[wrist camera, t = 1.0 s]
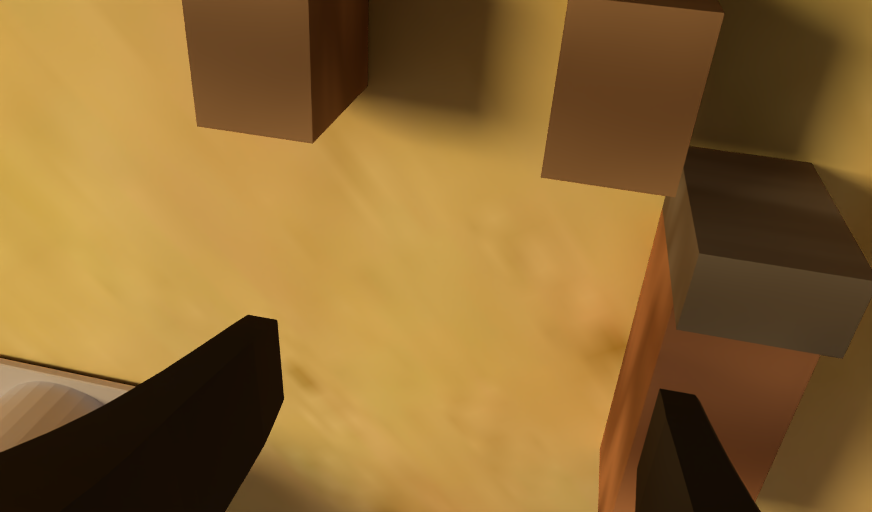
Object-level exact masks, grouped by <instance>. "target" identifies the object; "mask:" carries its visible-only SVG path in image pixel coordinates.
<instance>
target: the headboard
mask: <svg viewBox="0 0 872 512" xmlns="http://www.w3.org/2000/svg"><path fill="white" fill-rule="evenodd" d="M182 5H183V13H184V21H185V30H186V38H187V46H188V54H189V63H190V71H191V79H192V88H193V96H194V104H195V112H196V121H197V126H199V127H205V128H212V129H219V130H226V131H232V132H239V133H246V134H252V135H259V136H266V137H273V138H279V139H286V140H293V141H299V142H306V143H314V142H315V141H316V139H317V138H318V137H319V136H320V135H321V134H322V133H323V132H324V131H325V130H326V129H327V128H328V127H329V126H330V125H331V124H332V123H333V122H334V121H335V120H336V119H337V117H338V116H339V115H340V114H341V113H342V112H343V111H344V110H345V109H346V108H347V107H348V106H349V105H350V104H351V103H352V102H353V101H354V100H355V99H356V98H357V97H358V95H359V94H360V93H361V92H362V91H363V90H364V89H365V88H366V87H367V86H368V17H369V0H182ZM724 14H725V13H724V11H723V9H722V7H721V6H720V4H719V2H718V0H568V4H567V11H566V17H565V24H564V30H563V37H562V43H561V50H560V56H559V63H558V69H557V76H556V82H555V89H554V95H553V102H552V108H551V115H550V121H549V128H548V134H547V141H546V147H545V154H544V160H543V167H542V173H541V178H548V179H555V180H561V181H568V182H575V183H581V184H588V185H595V186H602V187H608V188H615V189H622V190H628V191H635V192H642V193H649V194H655V195H662V196H669V197H676V193H677V189H678V185H679V182H680V178H681V174H682V170H683V167H684V163H685V159H686V156H687V152H688V148H689V144H690V141H691V137H692V133H693V129H694V126H695V122H696V118H697V114H698V111H699V107H700V103H701V99H702V96H703V92H704V88H705V85H706V81H707V77H708V73H709V70H710V66H711V62H712V58H713V55H714V51H715V47H716V43H717V40H718V36H719V32H720V28H721V25H722V21H723V17H724Z"/></svg>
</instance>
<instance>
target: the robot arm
mask: <svg viewBox="0 0 872 512" xmlns="http://www.w3.org/2000/svg"><path fill="white" fill-rule="evenodd" d="M283 401H284V393H283V381H282V370H281V358H280V346H279V335H278V323H277V320H274V319H269V318H263V317H257V316H252V315H247V316H245V317H244V318H242V319H240V320H239V321H237V322H236V323H234V324H233V325H231V326H230V327H228V328H227V329H225V330H224V331H222V332H221V333H219V334H218V335H216V336H215V337H213V338H212V339H210V340H209V341H207V342H206V343H204V344H203V345H201V346H200V347H198V348H197V349H195V350H194V351H192V352H191V353H189V354H188V355H186V356H185V357H183V358H181V359H180V360H178V361H177V362H175V363H174V364H172V365H171V366H169V367H168V368H166V369H165V370H163V371H161V372H160V373H158V374H156V375H155V376H153V377H151V378H150V379H148V380H146V381H145V382H143V383H141V384H139V385H138V386H131V385H126V384H122V383H117V382H112V381H107V380H103V379H98V378H93V377H88V376H84V375H79V374H74V373H69V372H65V371H60V370H55V369H50V368H46V367H41V366H36V365H31V364H27V363H22V362H17V361H12V360H8V359H3V358H0V512H225V511H226V509H227V507H228V506H229V504H230V502H231V501H232V499H233V497H234V496H235V494H236V492H237V491H238V489H239V487H240V486H241V484H242V482H243V481H244V479H245V477H246V476H247V474H248V472H249V471H250V469H251V467H252V465H253V464H254V462H255V460H256V459H257V457H258V455H259V454H260V452H261V450H262V448H263V447H264V445H265V443H266V440H267V438H268V436H269V434H270V431H271V429H272V427H273V425H274V422H275V420H276V418H277V415H278V413H279V410H280V408H281V405H282V403H283ZM635 512H761V511H760V510H759V508H758V507H757V505H756V503H755V502H754V500H753V499H752V497H751V495H750V493H749V492H748V490H747V488H746V487H745V485H744V483H743V482H742V480H741V478H740V477H739V475H738V473H737V472H736V470H735V468H734V466H733V464H732V463H731V461H730V459H729V457H728V456H727V454H726V452H725V450H724V448H723V446H722V444H721V442H720V440H719V439H718V437H717V435H716V433H715V431H714V429H713V427H712V425H711V423H710V421H709V419H708V417H707V415H706V413H705V411H704V408H703V406H702V404H701V402H700V400H699V399H698V398H697V396H696V395H694V394H689V393H683V392H677V391H672V390H666V389H661V388H660V389H659V392H658V396H657V399H656V403H655V406H654V410H653V414H652V417H651V421H650V424H649V428H648V431H647V435H646V438H645V442H644V445H643V449H642V452H641V456H640V460H639V463H638V467H637V478H636V502H635Z"/></svg>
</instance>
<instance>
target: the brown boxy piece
mask: <svg viewBox="0 0 872 512" xmlns="http://www.w3.org/2000/svg"><path fill="white" fill-rule="evenodd" d="M871 297H872V269H871V267H870V266H869V264H868V262H867V260H866V259H865V257H864V255H863V253H862V251H861V250H860V248H859V246H858V244H857V243H856V241H855V239H854V237H853V236H852V234H851V232H850V230H849V229H848V227H847V225H846V223H845V221H844V220H843V218H842V216H841V214H840V213H839V211H838V209H837V207H836V206H835V204H834V202H833V200H832V198H831V197H830V195H829V193H828V191H827V190H826V188H825V186H824V184H823V183H822V181H821V179H820V177H819V175H818V174H817V172H816V170H815V168H814V167H813V165H812V163H808V162H800V161H793V160H786V159H779V158H771V157H764V156H757V155H749V154H742V153H735V152H728V151H720V150H713V149H706V148H699V147H691V146H689V148H688V152H687V156H686V159H685V163H684V167H683V170H682V174H681V178H680V182H679V185H678V189H677V193H676V197H669V196H665V200H664V204H663V208H662V212H661V216H660V220H659V223H658V227H657V231H656V235H655V239H654V243H653V247H652V250H651V254H650V258H649V262H648V266H647V270H646V274H645V277H644V281H643V285H642V289H641V293H640V297H639V301H638V304H637V308H636V312H635V316H634V320H633V324H632V327H631V331H630V335H629V339H628V343H627V347H626V351H625V354H624V358H623V362H622V366H621V370H620V374H619V378H618V381H617V385H616V389H615V393H614V397H613V401H612V405H611V408H610V412H609V416H608V420H607V424H606V428H605V432H604V435H603V439H602V443H601V447H600V466H599V501H598V512H635V502H636V478H637V467H638V463H639V460H640V456H641V452H642V449H643V445H644V442H645V438H646V435H647V431H648V428H649V424H650V421H651V417H652V414H653V410H654V406H655V403H656V399H657V396H658V392H659V389H660V388H661V389H666V390H672V391H677V392H683V393H689V394H694V395H696V396H697V398H698V399H699V400H700V402H701V404H702V406H703V408H704V411H705V413H706V415H707V417H708V419H709V421H710V423H711V425H712V427H713V429H714V431H715V433H716V435H717V437H718V439H719V440H720V442H721V444H722V446H723V448H724V450H725V452H726V454H727V456H728V457H729V459H730V461H731V463H732V464H733V466H734V468H735V470H736V472H737V473H738V475H739V477H740V478H741V480H742V482H743V483H744V485H745V487H746V488H747V490H748V492H749V493H750V495H751V497H752V499H753V500H754V502H755V501H756V499H757V496H758V494H759V492H760V490H761V487H762V485H763V483H764V481H765V478H766V476H767V474H768V472H769V469H770V467H771V465H772V463H773V460H774V458H775V456H776V454H777V452H778V449H779V447H780V445H781V443H782V440H783V438H784V436H785V434H786V431H787V429H788V427H789V425H790V422H791V420H792V418H793V416H794V413H795V411H796V409H797V407H798V404H799V402H800V400H801V398H802V395H803V393H804V391H805V389H806V387H807V384H808V382H809V380H810V378H811V375H812V373H813V371H814V369H815V366H816V364H817V362H818V360H819V357H820V355H824V356H830V357H836V358H842V359H843V357H844V355H845V353H846V351H847V348H848V346H849V344H850V342H851V340H852V338H853V336H854V334H855V331H856V329H857V327H858V325H859V323H860V321H861V319H862V317H863V314H864V312H865V310H866V308H867V306H868V304H869V302H870V299H871Z"/></svg>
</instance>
